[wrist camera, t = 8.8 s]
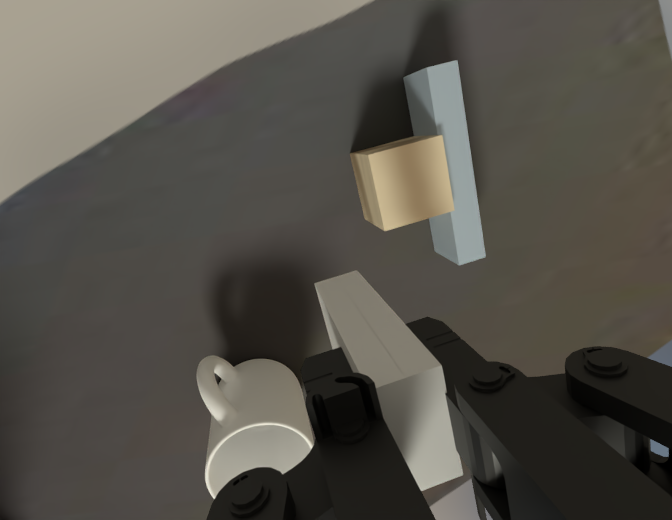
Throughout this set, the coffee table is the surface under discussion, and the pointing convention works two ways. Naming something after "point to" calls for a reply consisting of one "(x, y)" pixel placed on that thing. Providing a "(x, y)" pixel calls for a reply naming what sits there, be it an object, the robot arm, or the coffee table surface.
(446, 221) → the board
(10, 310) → the coffee table surface
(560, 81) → the coffee table surface
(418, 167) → the block
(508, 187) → the coffee table surface
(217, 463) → the mug
